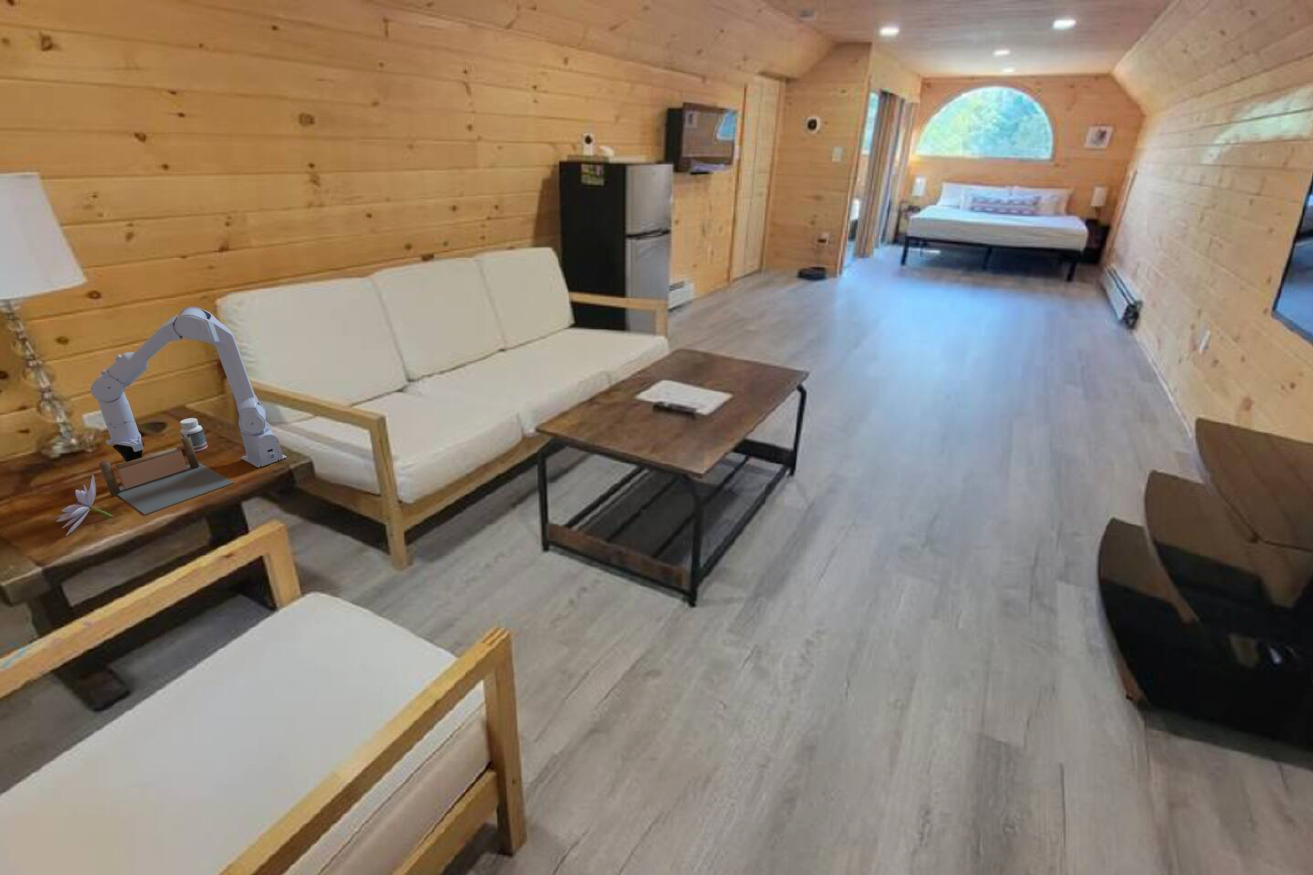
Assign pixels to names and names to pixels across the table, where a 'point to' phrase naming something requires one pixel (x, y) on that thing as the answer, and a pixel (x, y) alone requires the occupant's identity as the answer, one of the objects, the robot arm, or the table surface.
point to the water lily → (81, 507)
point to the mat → (173, 489)
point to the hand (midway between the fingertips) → (136, 468)
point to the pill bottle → (194, 433)
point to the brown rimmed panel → (151, 467)
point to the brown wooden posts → (111, 478)
